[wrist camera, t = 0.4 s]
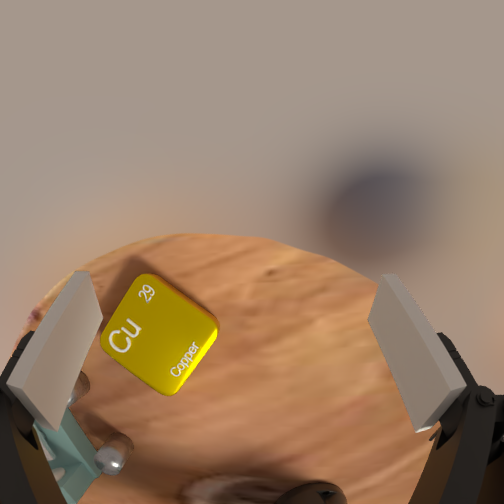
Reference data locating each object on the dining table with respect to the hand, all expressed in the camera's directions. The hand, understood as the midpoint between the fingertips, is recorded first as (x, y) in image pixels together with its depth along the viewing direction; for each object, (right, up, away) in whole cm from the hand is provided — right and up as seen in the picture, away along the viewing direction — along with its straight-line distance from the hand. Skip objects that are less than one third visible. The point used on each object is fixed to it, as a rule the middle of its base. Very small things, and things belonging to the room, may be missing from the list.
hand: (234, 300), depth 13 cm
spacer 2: (-24, -34, +32) cm, 52 cm away
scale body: (-38, -37, +31) cm, 61 cm away
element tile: (-14, -11, +34) cm, 39 cm away
